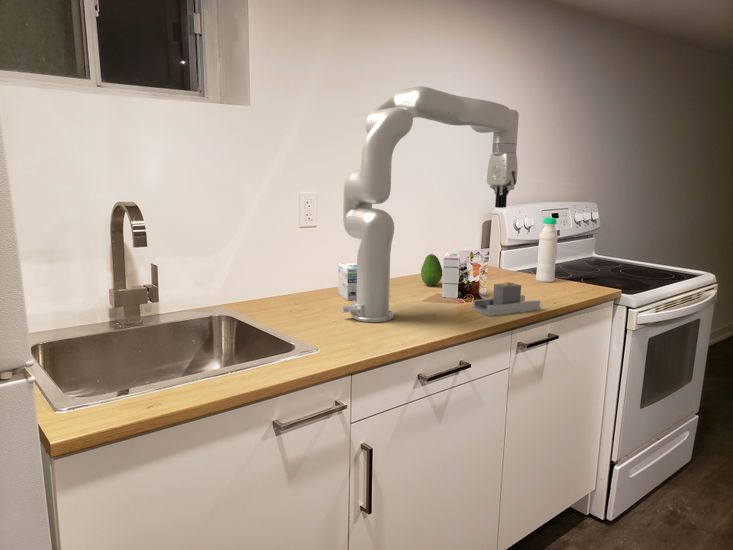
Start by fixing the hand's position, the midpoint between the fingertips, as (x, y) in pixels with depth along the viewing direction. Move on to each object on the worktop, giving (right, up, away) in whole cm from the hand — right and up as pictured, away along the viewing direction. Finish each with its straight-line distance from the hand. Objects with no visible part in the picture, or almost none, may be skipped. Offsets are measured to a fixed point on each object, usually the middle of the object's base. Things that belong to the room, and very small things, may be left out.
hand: (500, 207), depth 182 cm
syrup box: (-15, -30, +10) cm, 35 cm away
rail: (0, -33, -7) cm, 34 cm away
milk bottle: (+27, -25, +39) cm, 54 cm away
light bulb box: (-49, -30, +7) cm, 58 cm away
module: (0, -32, -7) cm, 33 cm away
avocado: (-20, -26, +26) cm, 42 cm away
